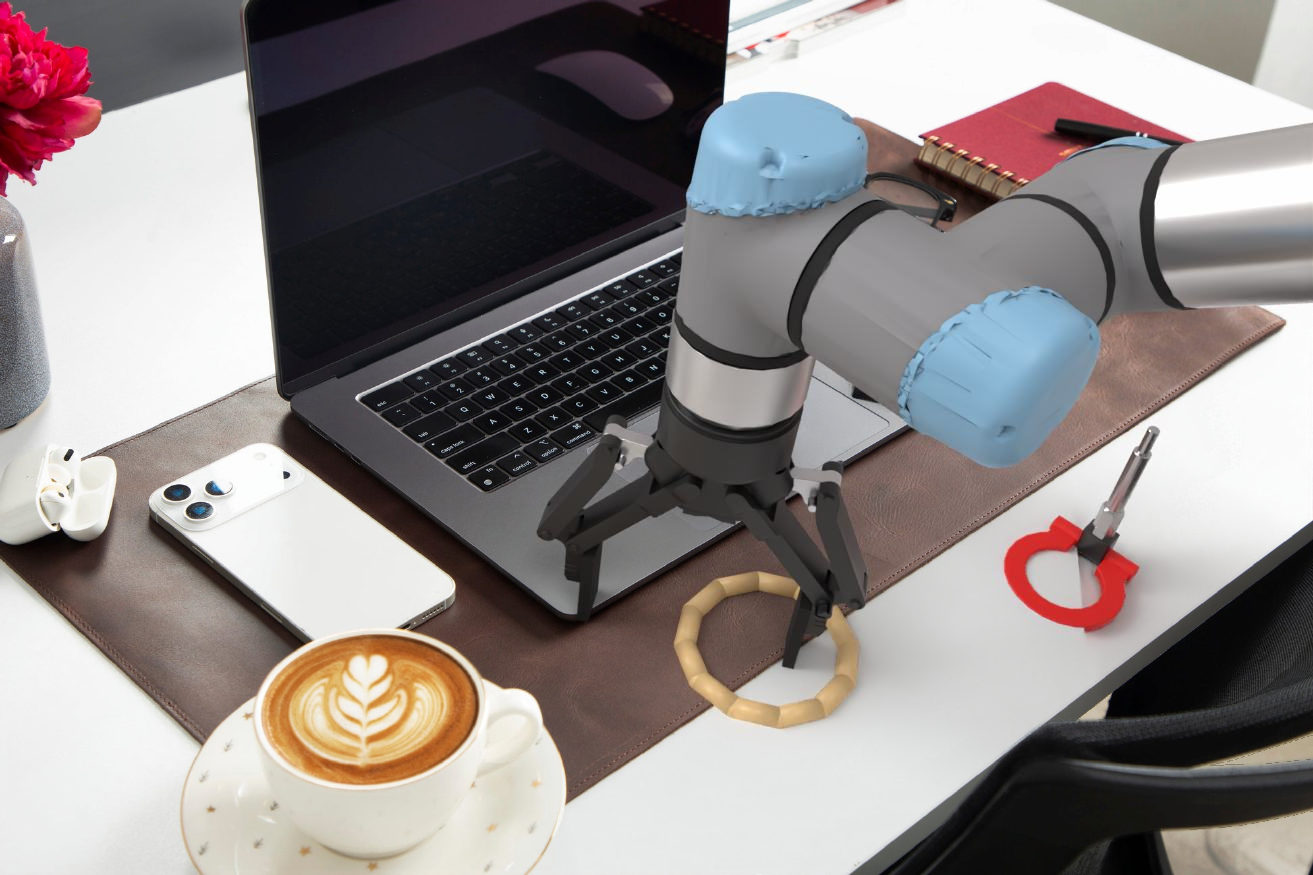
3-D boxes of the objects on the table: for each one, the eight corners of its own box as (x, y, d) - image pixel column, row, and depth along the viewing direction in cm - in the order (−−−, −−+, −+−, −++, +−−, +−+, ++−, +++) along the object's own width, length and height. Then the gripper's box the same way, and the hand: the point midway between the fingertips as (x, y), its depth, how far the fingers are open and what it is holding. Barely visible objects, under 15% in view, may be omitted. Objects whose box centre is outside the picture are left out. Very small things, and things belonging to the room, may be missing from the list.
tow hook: (1081, 657, 77) (1147, 583, 82) (1151, 532, 68) (1220, 458, 73) (977, 583, 81) (1045, 517, 86) (1029, 457, 72) (1103, 391, 77)
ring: (861, 603, 78) (866, 590, 77) (847, 751, 70) (852, 738, 69) (692, 566, 79) (695, 552, 78) (658, 707, 70) (661, 694, 70)
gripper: (970, 390, 62) (879, 629, 76) (527, 298, 64) (520, 548, 78) (970, 486, 56) (871, 724, 71) (485, 382, 58) (486, 634, 73)
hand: (687, 632), depth 75 cm, fingers open, 13 cm apart
